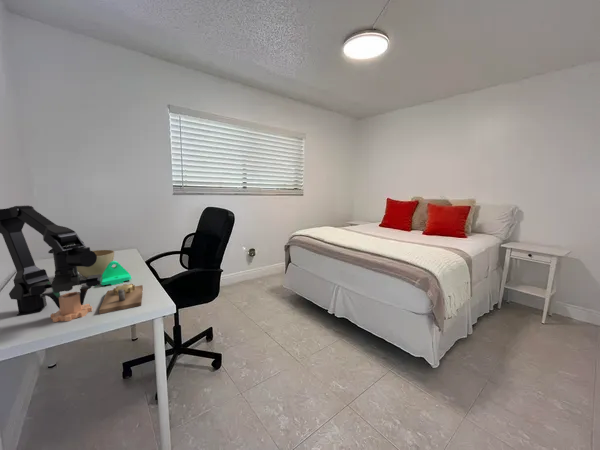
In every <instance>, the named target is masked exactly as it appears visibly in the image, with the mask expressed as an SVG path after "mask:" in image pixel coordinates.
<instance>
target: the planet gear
mask: <svg viewBox="0 0 600 450" xmlns="http://www.w3.org/2000/svg"><path fill="white" fill-rule="evenodd" d="M59 304H60V309H59V308H58V310H57V311H56V312H54V313H51V314H50V319H51V320H52V322H53V323H58V322H70V321H71V322H72V320H75V319H78V318H83V317H85V316H87V314H88V313H90V312H92V311H93V306H92V305H90V303H84V304H83V305H81V292H80V291H73V292H72V291H71V292H67V293H64V294H60V297H59Z"/></svg>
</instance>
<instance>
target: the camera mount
mask: <svg viewBox="0 0 600 450" xmlns="http://www.w3.org/2000/svg"><path fill="white" fill-rule="evenodd" d="M114 265H115V266H114ZM102 279H103V281H102V283H101V284H100V286H105V285H107V286H108V285H111V286H115V285H121V284H123V283H124V282H126V281H130V280H132V275H131V274H130V273H129V272H128V271H127V270H126V269H125V268H124V267H123V265H121V263H119V262H118V261H117V260H113V261H111V262H110V263H109V264H108V266H107V267H106V269H105V271H104V272H103V274H102Z"/></svg>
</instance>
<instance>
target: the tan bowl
mask: <svg viewBox="0 0 600 450" xmlns="http://www.w3.org/2000/svg"><path fill="white" fill-rule="evenodd" d="M92 251H93V252H94V253H95V254H96V255H97V260H96V262H95V263H94V264H93V265H92V266H90V267H80V266H77V267H78V268H77V270H78V274H80V276H83V277H84V278H85V279H87V278H88V276H91V275H98V274H100V275H102V274H103V272H104V271H105V269H106V267H107V266H108V264H109V263H110V262H111V261H114V260H115V259H114V257H115V251H114V250H112V249H111V250H110V249H97V250H92Z"/></svg>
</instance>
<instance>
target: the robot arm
mask: <svg viewBox="0 0 600 450" xmlns="http://www.w3.org/2000/svg"><path fill="white" fill-rule="evenodd" d="M25 224H26V225H28V226H29V227H31V228H32V229H34V230H35V231H36V232H38V233H39V234H41V235H42V240H43V242H44V243H46V244H47V245H48V247H50V248H51V249H50V250H48V252H47V253H48V254H52V256H53V263H54V269H55V270H54V277H53V278H52V282H51V281H50V277H49V276H48V273H47V270H46V269H44V268H41V269H40V268H39V267H37V265H36V264H35V261H34V258H33V255H32V252H31V251H30V249H29V246H28V242H27V240H26V238H25V235H24V233H23V228H24V226H25ZM0 234H1V235H2V237H3V238H2V239H3V241H4V243H5V245H6V248H7V250H8V253H9V255H10V258H11V260H12V263H13V265H14V268H15V270H16V273H15V275H14V277H13V278H14V279H12V280H13V281H12V282H13V284H14V286H12V289H11V290H10V291H9V293H8V295H9V297H10V299H11V300H15V301H16V304H17V309H18V310H17V311H18V312H17V313H16V316H22V315H28V314H33V313H34V314H35V313H40V312H42V311H43V310H44V309H45V308H46V307H47V297H49V298H50V299H51V300H52V301H53V302H54V304H55V305H56V307H57V308H58V310H59V309H60V304H59V297H60V296H61V292H70V291H72V290H73V288H74V287H75V286H81V287H80V288H79V292H81V305H84V304H85V303H84V302H85V299H86V296H87V292H88V290H91V288H92V287H98V286H101V283H102V281H103V279H102V275H100V274H98V275H91V276H88V278H83V279H81V277H80V275H79V272H78V270H77V268H78V267H77V266H80V267H90V266H92V265H93V264H94V263H95V262H96V260H97V255H96V254H95V253H94V252H93V251H94V250H91V248H90V246H86V245H85V243H84V241H83V240H82V239H81V238H80V237H79V235H78V234H77V233H76V231H75V230H73V229H71V228H69V227H67V226H62V225H58V224H56V223H55V222H53V221H51V220H50V219H49V218H47V217H46V216H44V215H43V214H41V213H40V212H39V211H38V210H36V209H35V208H34V207H33V206H32V205H30V204H29V205H27V204H26V205H15V206H11V207H8V208H0Z"/></svg>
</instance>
